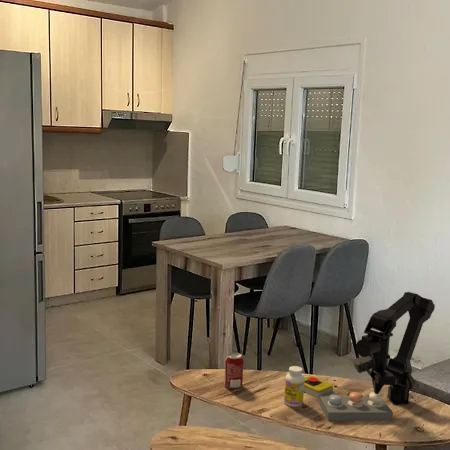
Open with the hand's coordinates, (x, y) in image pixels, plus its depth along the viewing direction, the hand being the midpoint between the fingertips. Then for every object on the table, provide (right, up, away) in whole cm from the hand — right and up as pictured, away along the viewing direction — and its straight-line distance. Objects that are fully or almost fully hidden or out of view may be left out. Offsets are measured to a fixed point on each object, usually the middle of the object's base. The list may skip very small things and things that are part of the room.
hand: (376, 393), depth 200 cm
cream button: (0, -2, 0) cm, 2 cm away
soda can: (-49, -2, +17) cm, 52 cm away
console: (-7, -7, 0) cm, 10 cm away
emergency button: (-19, -4, +17) cm, 26 cm away
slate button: (-14, -3, -1) cm, 14 cm away
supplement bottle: (-28, -5, +5) cm, 29 cm away
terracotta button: (-7, -2, 0) cm, 7 cm away
